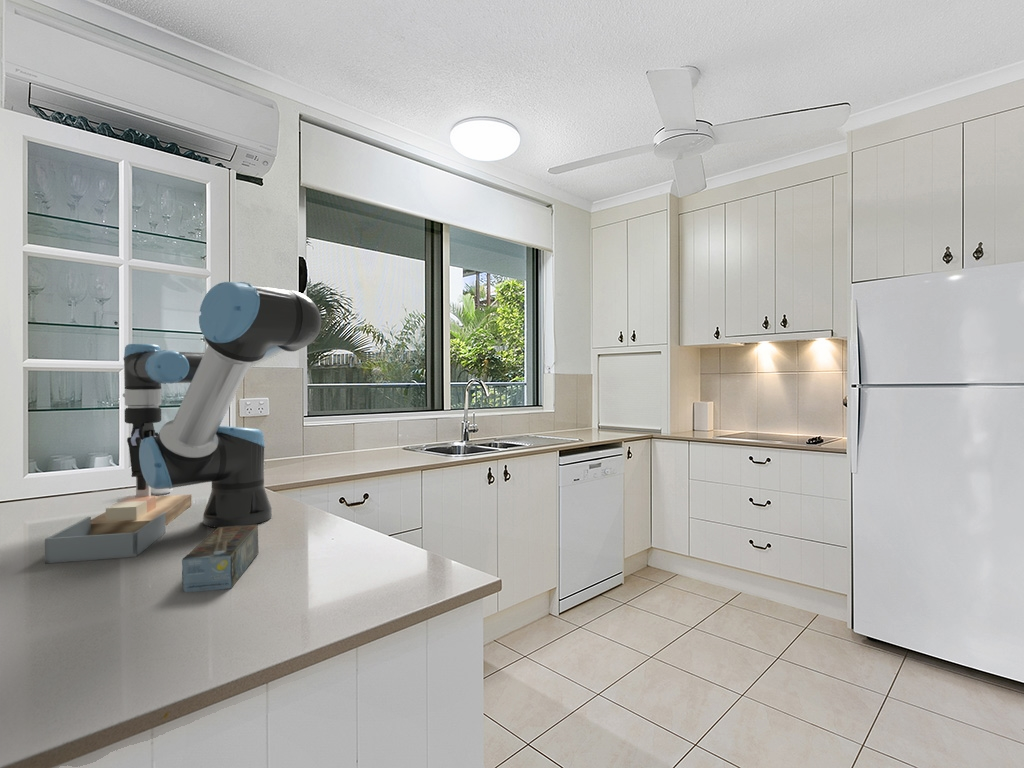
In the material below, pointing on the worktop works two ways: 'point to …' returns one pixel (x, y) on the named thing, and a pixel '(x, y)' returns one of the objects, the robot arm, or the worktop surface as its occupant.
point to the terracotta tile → (150, 500)
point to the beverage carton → (220, 558)
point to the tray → (100, 542)
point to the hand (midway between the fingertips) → (143, 502)
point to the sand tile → (126, 511)
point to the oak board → (163, 505)
